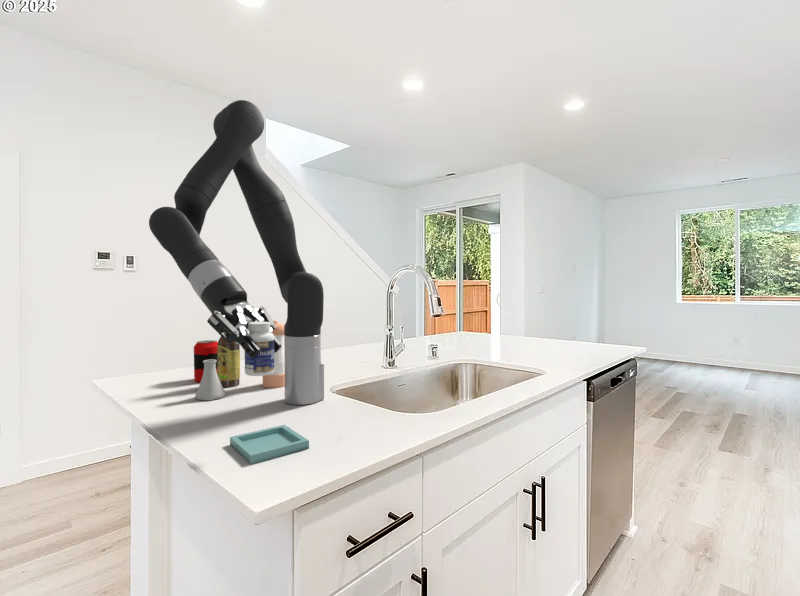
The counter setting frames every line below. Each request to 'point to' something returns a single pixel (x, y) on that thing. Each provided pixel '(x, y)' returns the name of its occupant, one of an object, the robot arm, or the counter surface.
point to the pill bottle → (266, 344)
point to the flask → (210, 383)
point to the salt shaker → (277, 361)
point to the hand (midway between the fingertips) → (267, 352)
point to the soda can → (203, 356)
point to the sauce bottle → (228, 362)
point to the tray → (268, 443)
